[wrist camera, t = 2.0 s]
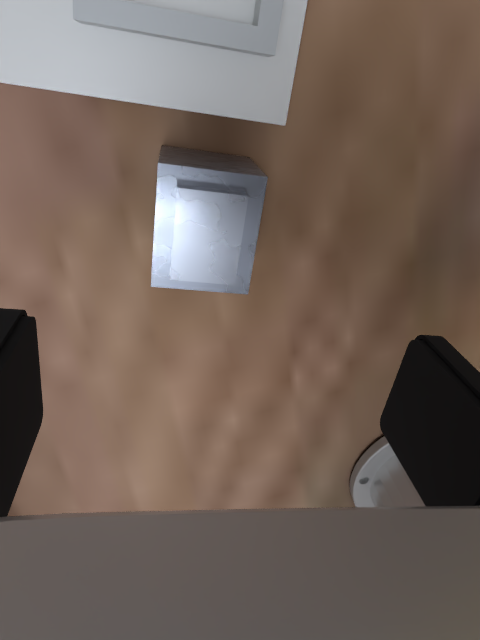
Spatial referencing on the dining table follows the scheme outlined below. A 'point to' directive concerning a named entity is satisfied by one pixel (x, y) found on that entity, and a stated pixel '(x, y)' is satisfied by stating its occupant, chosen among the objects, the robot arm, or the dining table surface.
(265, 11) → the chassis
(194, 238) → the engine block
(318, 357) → the dining table surface
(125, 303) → the dining table surface
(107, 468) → the dining table surface
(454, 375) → the robot arm
